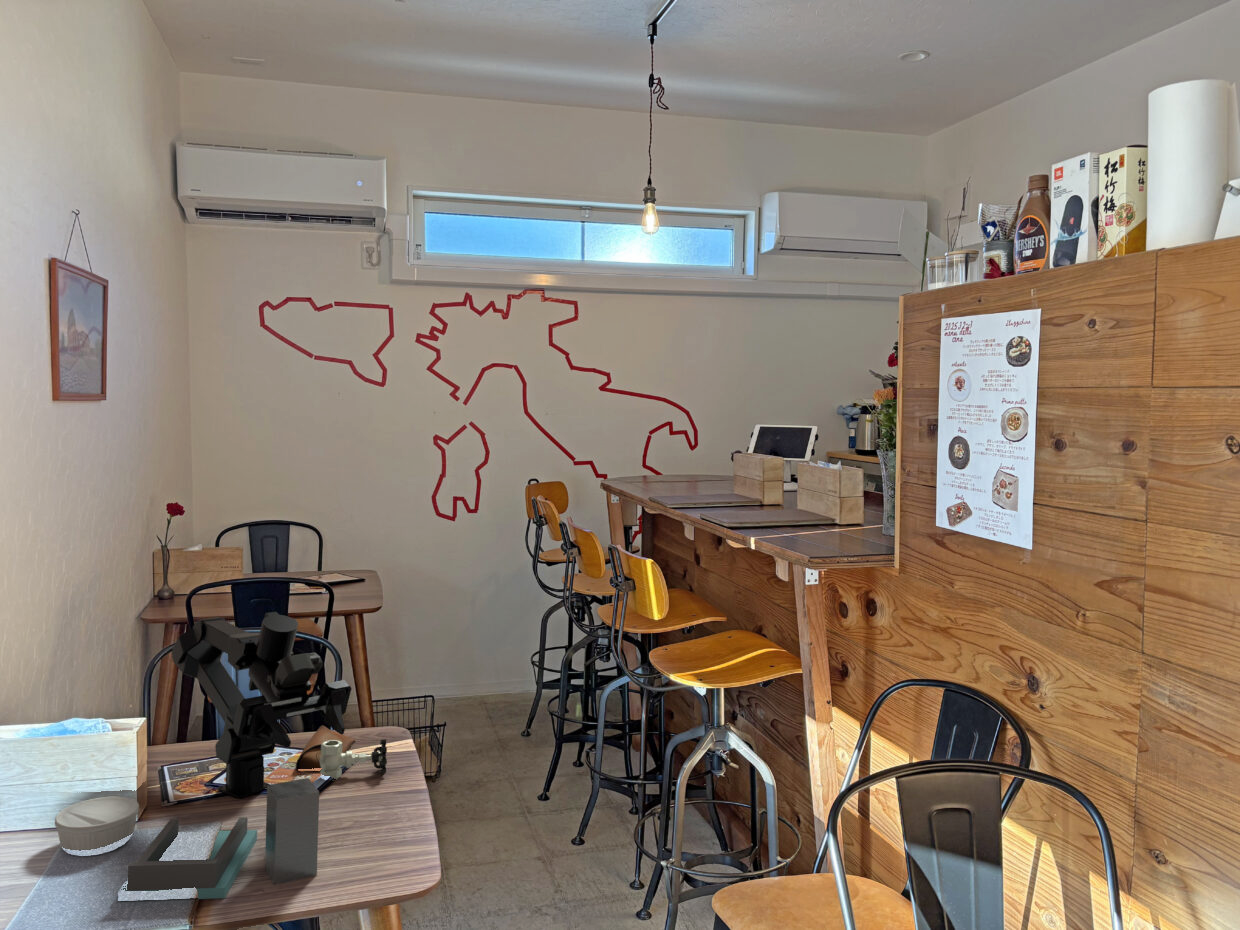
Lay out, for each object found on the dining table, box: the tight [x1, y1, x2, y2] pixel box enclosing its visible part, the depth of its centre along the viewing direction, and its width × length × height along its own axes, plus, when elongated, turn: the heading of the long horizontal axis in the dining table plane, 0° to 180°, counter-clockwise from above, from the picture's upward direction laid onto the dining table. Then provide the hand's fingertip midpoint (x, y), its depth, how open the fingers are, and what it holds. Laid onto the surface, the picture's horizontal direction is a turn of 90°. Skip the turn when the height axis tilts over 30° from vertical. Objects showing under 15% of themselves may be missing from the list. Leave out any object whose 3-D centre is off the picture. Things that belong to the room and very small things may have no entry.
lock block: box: [264, 777, 320, 886], centre depth 133 cm, size 6×6×12 cm
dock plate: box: [117, 816, 258, 900], centre depth 133 cm, size 18×14×5 cm
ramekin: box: [54, 795, 140, 851], centre depth 139 cm, size 11×11×5 cm
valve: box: [319, 739, 388, 781], centre depth 170 cm, size 7×7×12 cm
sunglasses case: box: [295, 724, 356, 771], centre depth 179 cm, size 18×7×7 cm, turn 7°
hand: (317, 738), depth 143 cm, fingers open, 9 cm apart
